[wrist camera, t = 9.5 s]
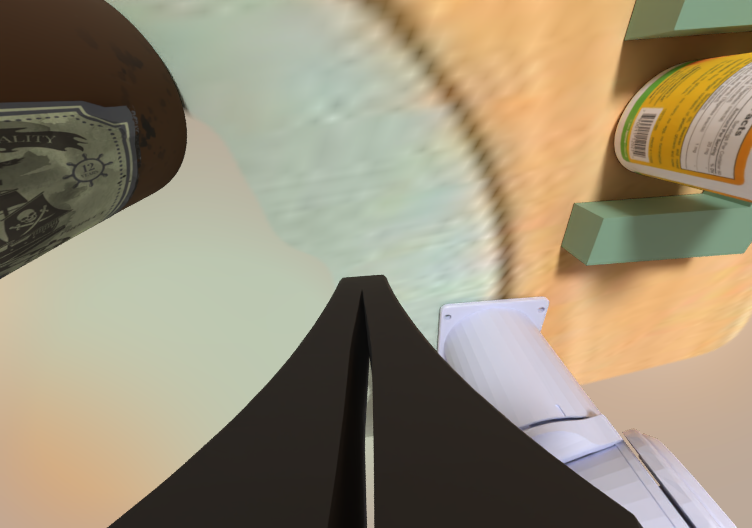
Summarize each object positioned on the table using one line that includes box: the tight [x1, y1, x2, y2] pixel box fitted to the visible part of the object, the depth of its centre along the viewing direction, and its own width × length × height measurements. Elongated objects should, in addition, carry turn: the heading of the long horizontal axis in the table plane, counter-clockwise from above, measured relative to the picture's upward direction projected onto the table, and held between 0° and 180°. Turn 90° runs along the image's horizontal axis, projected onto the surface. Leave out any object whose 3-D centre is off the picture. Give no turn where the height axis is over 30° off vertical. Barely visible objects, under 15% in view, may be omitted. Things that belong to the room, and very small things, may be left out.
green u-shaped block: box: [561, 0, 752, 266], centre depth 15 cm, size 14×10×2 cm
